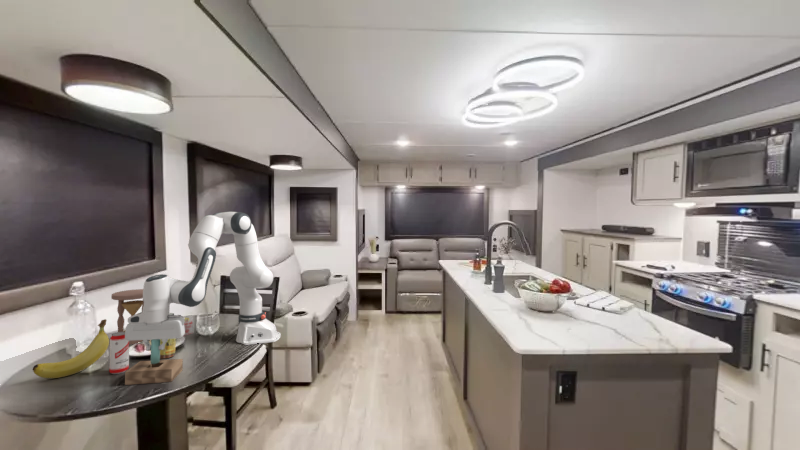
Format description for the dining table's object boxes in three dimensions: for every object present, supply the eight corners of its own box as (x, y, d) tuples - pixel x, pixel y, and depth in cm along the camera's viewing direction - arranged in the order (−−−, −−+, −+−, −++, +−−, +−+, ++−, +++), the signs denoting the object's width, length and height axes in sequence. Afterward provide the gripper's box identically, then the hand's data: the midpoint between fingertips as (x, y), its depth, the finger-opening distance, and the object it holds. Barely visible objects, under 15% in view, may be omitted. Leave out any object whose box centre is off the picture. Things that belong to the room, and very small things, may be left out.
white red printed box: (176, 335, 183) (177, 317, 183) (189, 332, 189) (190, 314, 189) (180, 336, 181) (180, 318, 181) (193, 333, 187) (193, 315, 187)
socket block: (182, 370, 141) (182, 358, 141) (171, 381, 131) (171, 369, 131) (139, 373, 138) (139, 361, 138) (124, 384, 128) (125, 371, 128)
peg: (161, 360, 136) (161, 336, 136) (157, 363, 133) (158, 338, 133) (153, 361, 136) (153, 336, 135) (149, 364, 133) (149, 339, 133)
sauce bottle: (166, 360, 151) (167, 316, 151) (155, 358, 152) (156, 315, 152) (179, 354, 158) (179, 312, 157) (168, 353, 159) (168, 311, 159)
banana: (34, 386, 125) (35, 333, 125) (30, 382, 128) (31, 330, 128) (110, 365, 144) (111, 319, 144) (105, 362, 147) (106, 317, 147)
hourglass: (101, 343, 169) (102, 294, 169) (136, 332, 186) (136, 288, 186) (128, 347, 165) (129, 297, 165) (161, 335, 182) (162, 290, 182)
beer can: (132, 369, 141) (133, 332, 141) (115, 376, 135) (116, 336, 135) (122, 367, 143) (123, 330, 143) (105, 373, 137) (106, 334, 137)
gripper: (187, 312, 140) (187, 345, 140) (132, 314, 135) (131, 348, 135) (181, 316, 133) (180, 351, 133) (122, 318, 129) (122, 354, 129)
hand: (155, 349), depth 134 cm, fingers closed on peg, 3 cm apart
